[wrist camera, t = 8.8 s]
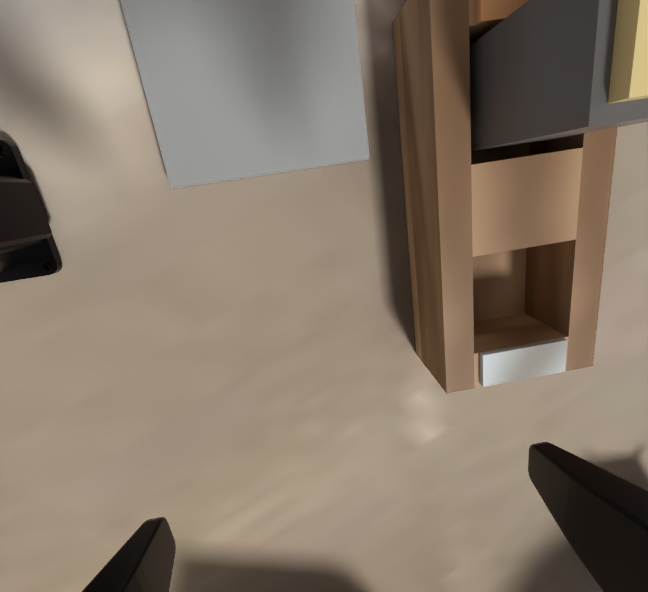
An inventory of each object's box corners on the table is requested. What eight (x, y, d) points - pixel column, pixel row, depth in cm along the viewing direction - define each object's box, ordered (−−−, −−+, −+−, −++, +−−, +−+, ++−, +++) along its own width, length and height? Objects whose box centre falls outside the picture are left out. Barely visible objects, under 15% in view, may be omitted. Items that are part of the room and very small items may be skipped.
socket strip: (416, 354, 22) (449, 396, 18) (392, 22, 17) (431, -39, 12) (539, 331, 23) (603, 367, 18) (555, 1, 17) (651, -67, 13)
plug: (445, 156, 18) (608, 122, 9) (442, 67, 17) (628, -78, 8) (519, 145, 18) (753, 101, 9) (522, 56, 17) (796, -98, 8)
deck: (176, 188, 18) (170, 188, 17) (113, -52, 15) (101, -68, 14) (365, 160, 19) (369, 158, 18) (341, -78, 16) (344, -96, 15)
